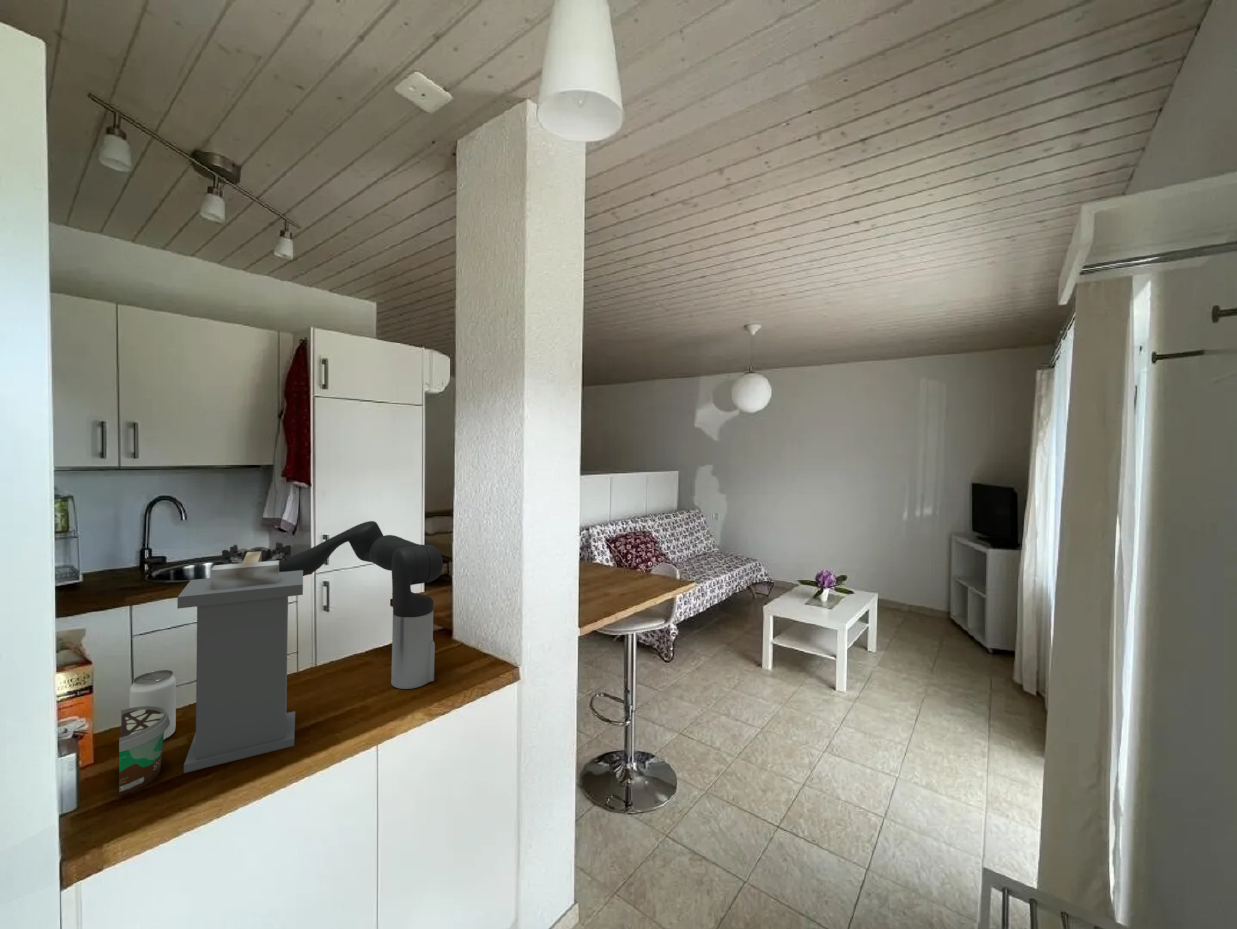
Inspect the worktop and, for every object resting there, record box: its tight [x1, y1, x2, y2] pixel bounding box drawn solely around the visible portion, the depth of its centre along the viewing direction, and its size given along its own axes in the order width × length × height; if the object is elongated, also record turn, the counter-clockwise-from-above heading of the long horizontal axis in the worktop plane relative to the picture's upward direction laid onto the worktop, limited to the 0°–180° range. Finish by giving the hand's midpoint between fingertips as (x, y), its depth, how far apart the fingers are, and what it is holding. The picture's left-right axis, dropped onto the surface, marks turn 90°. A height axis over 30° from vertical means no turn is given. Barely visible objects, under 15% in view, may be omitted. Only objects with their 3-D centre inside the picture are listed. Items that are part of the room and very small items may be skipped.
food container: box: [118, 706, 170, 797], centre depth 85 cm, size 12×6×10 cm, turn 44°
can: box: [129, 669, 177, 741], centre depth 95 cm, size 6×6×12 cm
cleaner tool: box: [210, 551, 280, 589], centre depth 99 cm, size 10×20×4 cm, turn 33°
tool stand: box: [176, 570, 304, 774], centre depth 94 cm, size 18×12×31 cm, turn 123°
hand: (256, 546), depth 122 cm, fingers open, 8 cm apart
